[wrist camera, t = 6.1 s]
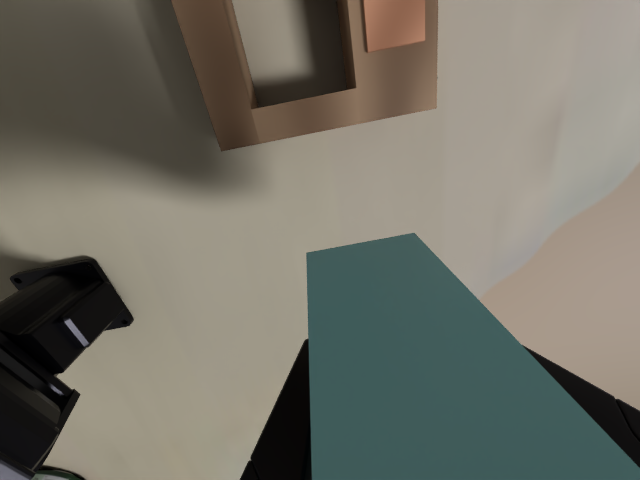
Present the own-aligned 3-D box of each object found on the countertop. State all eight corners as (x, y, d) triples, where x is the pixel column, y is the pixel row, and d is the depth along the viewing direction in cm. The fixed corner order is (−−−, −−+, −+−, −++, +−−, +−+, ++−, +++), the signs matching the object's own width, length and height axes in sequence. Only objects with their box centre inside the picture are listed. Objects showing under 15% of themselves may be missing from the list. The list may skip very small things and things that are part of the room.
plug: (324, 332, 11) (362, 716, 4) (306, 252, 10) (316, 677, 2) (416, 316, 11) (622, 680, 4) (414, 232, 9) (774, 609, 2)
